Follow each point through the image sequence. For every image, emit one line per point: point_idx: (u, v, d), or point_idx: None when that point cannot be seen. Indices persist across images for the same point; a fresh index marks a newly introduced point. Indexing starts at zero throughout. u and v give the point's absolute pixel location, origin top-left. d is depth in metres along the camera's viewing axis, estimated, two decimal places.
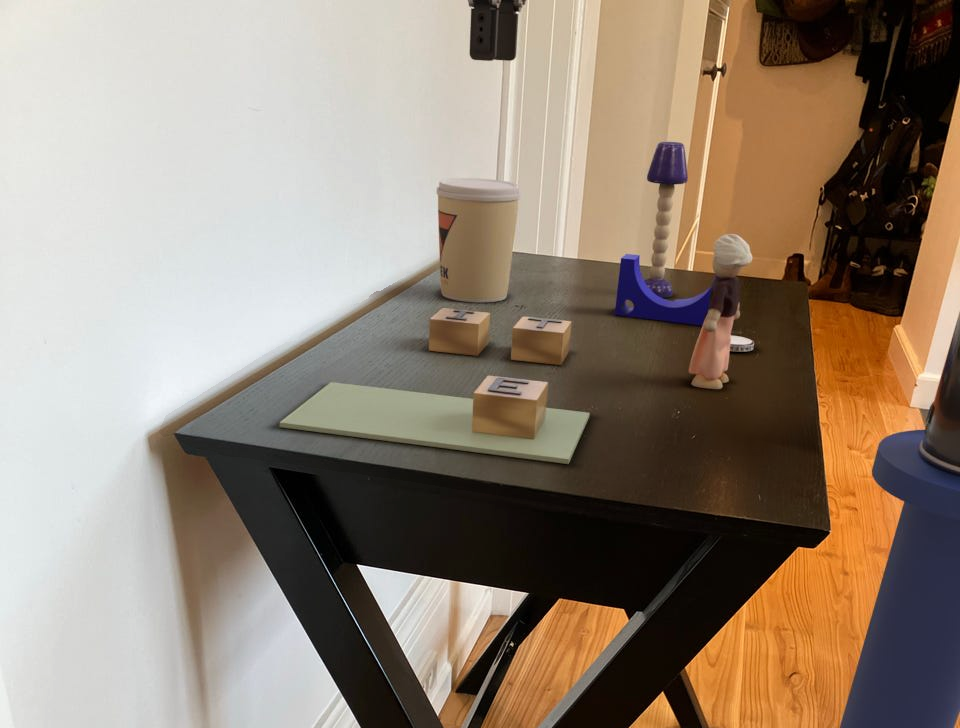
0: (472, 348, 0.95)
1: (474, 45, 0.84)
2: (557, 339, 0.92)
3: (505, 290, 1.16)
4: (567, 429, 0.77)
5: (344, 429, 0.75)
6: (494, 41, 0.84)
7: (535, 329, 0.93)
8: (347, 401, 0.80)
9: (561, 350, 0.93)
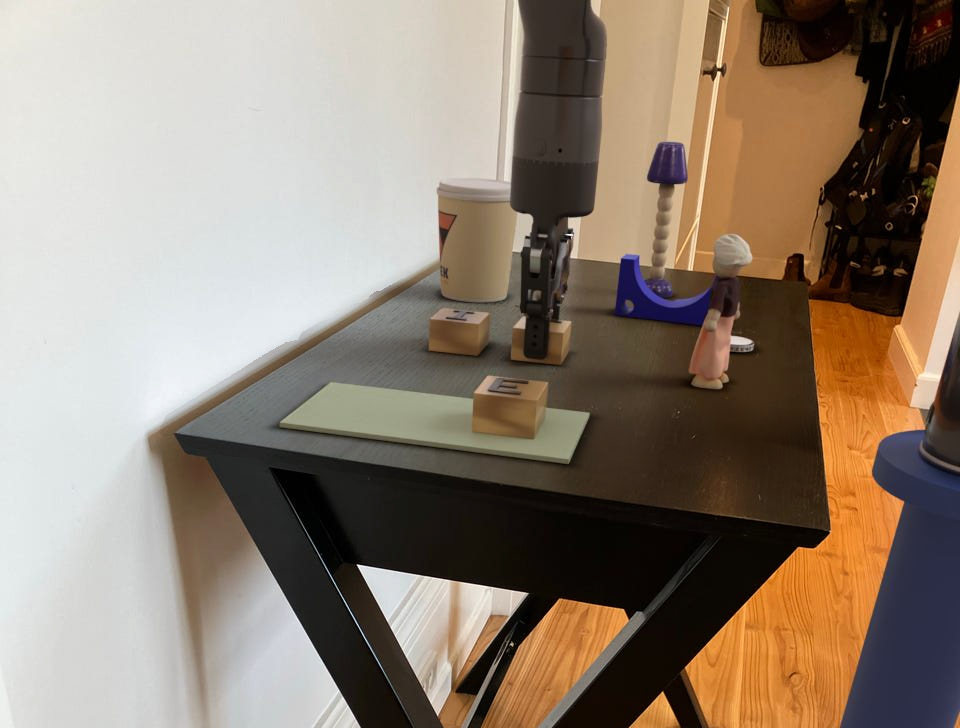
0: (472, 348, 0.95)
1: (528, 348, 0.92)
2: (557, 339, 0.92)
3: (505, 290, 1.16)
4: (567, 429, 0.77)
5: (344, 429, 0.75)
6: (546, 344, 0.92)
7: None
8: (347, 401, 0.80)
9: (561, 350, 0.93)
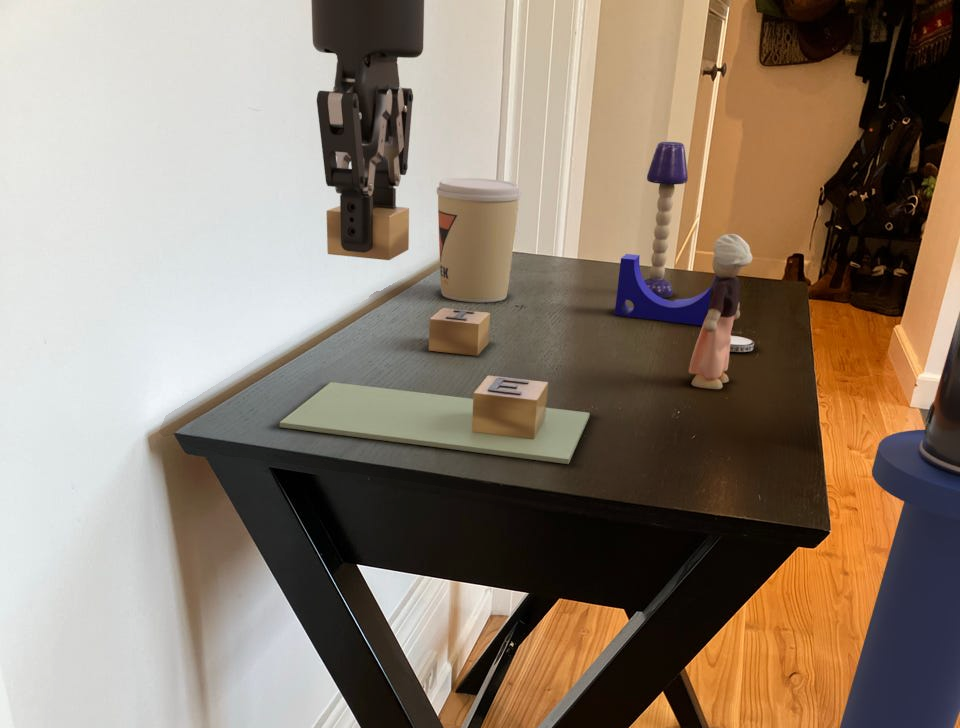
0: (472, 348, 0.95)
1: (345, 236, 0.71)
2: (382, 225, 0.72)
3: (505, 290, 1.16)
4: (567, 429, 0.77)
5: (344, 429, 0.75)
6: (368, 231, 0.72)
7: None
8: (347, 401, 0.80)
9: (388, 240, 0.72)
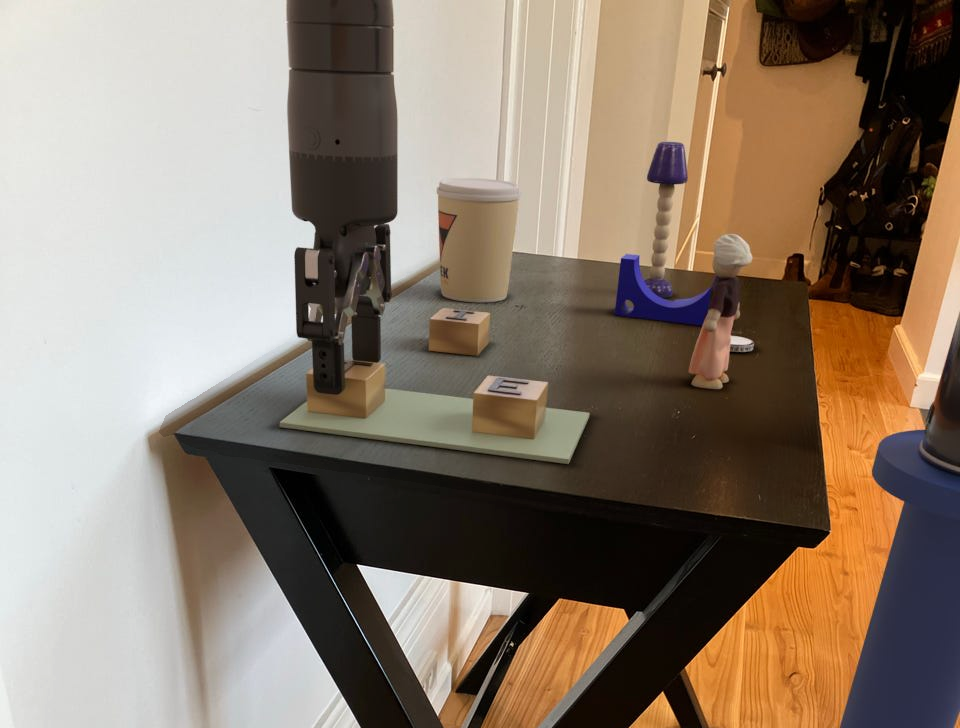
0: (472, 348, 0.95)
1: (317, 381, 0.73)
2: (358, 387, 0.76)
3: (505, 290, 1.16)
4: (567, 429, 0.77)
5: (344, 429, 0.75)
6: (340, 376, 0.73)
7: None
8: None
9: (365, 401, 0.76)
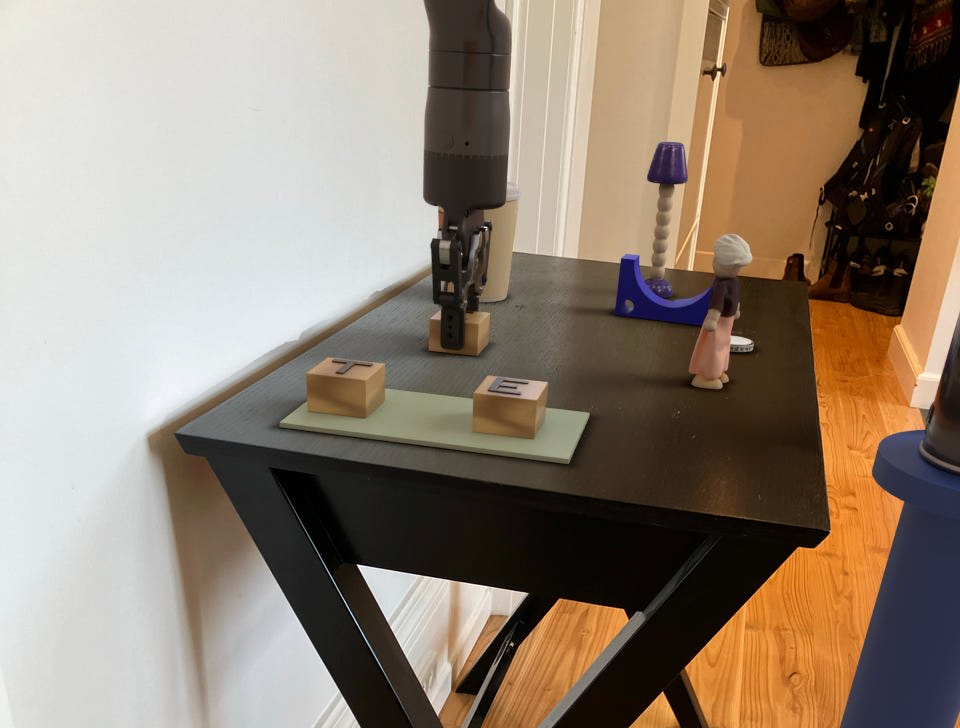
0: (472, 347, 0.95)
1: (444, 339, 0.94)
2: (358, 387, 0.76)
3: (505, 290, 1.16)
4: (567, 429, 0.77)
5: (344, 429, 0.75)
6: (462, 335, 0.94)
7: (333, 375, 0.76)
8: None
9: (365, 401, 0.76)
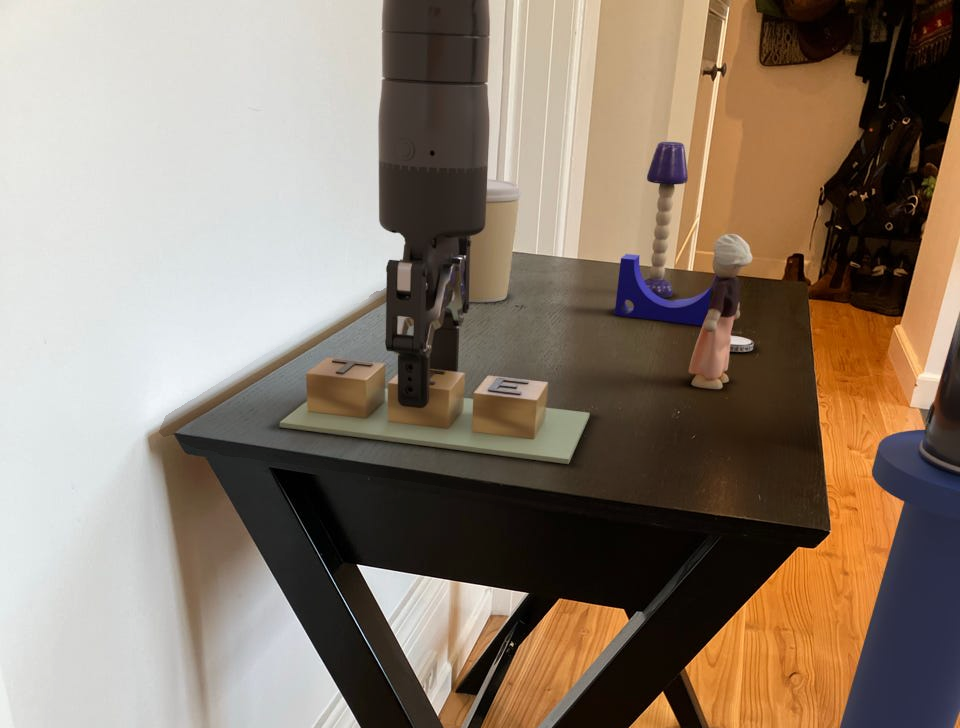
0: (442, 419, 0.75)
1: (402, 394, 0.72)
2: (358, 387, 0.76)
3: (505, 290, 1.16)
4: (567, 429, 0.77)
5: (344, 429, 0.75)
6: (426, 389, 0.72)
7: (333, 375, 0.76)
8: None
9: (365, 401, 0.76)
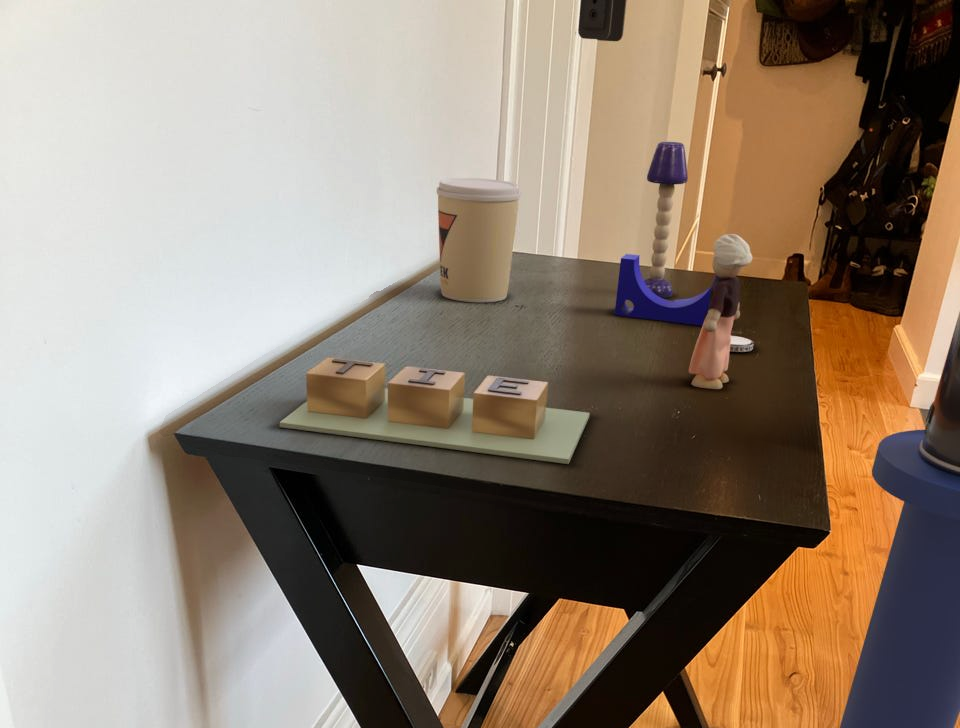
0: (442, 419, 0.75)
1: (585, 20, 0.70)
2: (358, 387, 0.76)
3: (505, 290, 1.16)
4: (567, 429, 0.77)
5: (344, 429, 0.75)
6: (609, 16, 0.70)
7: (333, 375, 0.76)
8: None
9: (365, 401, 0.76)
